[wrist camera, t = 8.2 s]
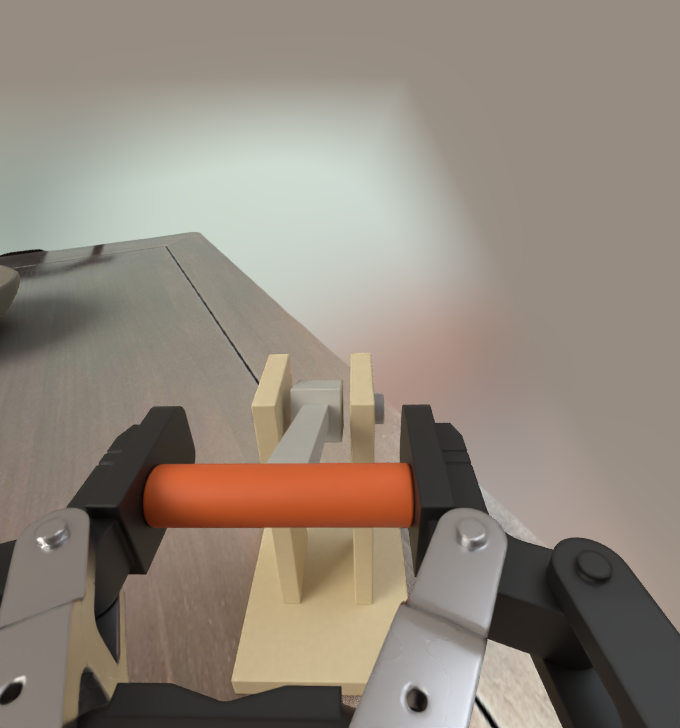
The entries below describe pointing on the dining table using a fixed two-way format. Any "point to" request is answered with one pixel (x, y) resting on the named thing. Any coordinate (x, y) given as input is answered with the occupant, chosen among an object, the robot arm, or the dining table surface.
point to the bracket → (319, 567)
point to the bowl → (7, 287)
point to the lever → (286, 481)
